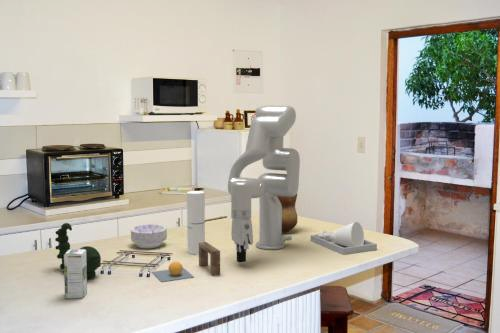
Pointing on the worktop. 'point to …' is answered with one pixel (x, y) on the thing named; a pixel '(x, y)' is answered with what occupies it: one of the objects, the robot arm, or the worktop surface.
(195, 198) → the cylindrical container
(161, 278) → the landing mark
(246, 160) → the robot arm
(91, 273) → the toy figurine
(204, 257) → the bridge
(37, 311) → the worktop surface
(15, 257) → the worktop surface
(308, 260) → the worktop surface
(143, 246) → the paper bowls
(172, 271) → the ball
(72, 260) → the syrup box
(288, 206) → the brown vase
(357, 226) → the rocket engine
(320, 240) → the grey rimmed tray
